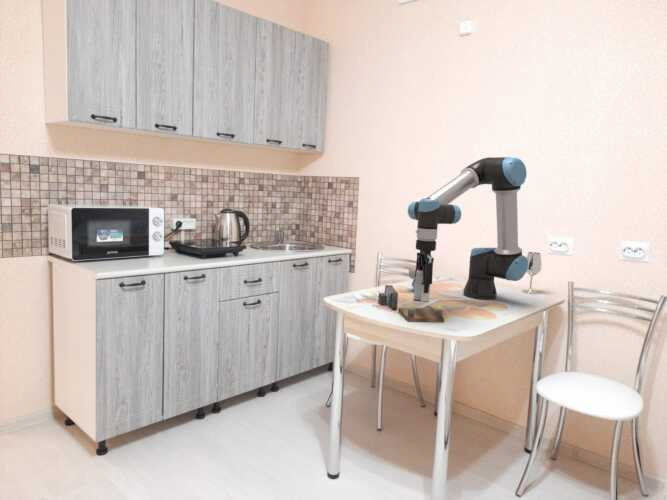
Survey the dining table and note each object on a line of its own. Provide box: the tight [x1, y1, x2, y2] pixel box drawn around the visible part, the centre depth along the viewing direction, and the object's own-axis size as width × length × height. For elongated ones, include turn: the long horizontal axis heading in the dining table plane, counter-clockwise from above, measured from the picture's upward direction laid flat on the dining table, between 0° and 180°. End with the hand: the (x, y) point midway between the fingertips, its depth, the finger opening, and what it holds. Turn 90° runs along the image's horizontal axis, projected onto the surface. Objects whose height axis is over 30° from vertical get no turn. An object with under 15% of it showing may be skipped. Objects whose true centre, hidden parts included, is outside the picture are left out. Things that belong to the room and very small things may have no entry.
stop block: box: [377, 292, 388, 306], centre depth 212 cm, size 2×5×4 cm, turn 7°
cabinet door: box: [390, 291, 445, 323], centre depth 197 cm, size 16×18×7 cm
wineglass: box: [521, 251, 542, 295], centre depth 251 cm, size 8×8×20 cm
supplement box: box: [413, 269, 431, 303], centre depth 194 cm, size 6×6×12 cm
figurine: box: [408, 265, 416, 291], centre depth 240 cm, size 8×8×12 cm
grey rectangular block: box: [384, 284, 397, 308], centre depth 213 cm, size 14×3×6 cm, turn 3°
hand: (421, 298), depth 194 cm, fingers closed on supplement box, 7 cm apart
